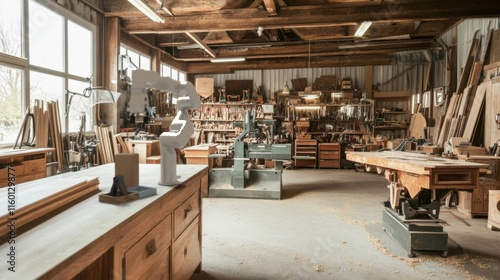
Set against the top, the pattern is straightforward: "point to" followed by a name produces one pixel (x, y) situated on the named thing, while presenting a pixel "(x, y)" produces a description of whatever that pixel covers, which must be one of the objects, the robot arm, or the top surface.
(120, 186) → the black angular piece
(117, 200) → the walnut bin
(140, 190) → the slate tray
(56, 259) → the top surface
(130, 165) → the block
